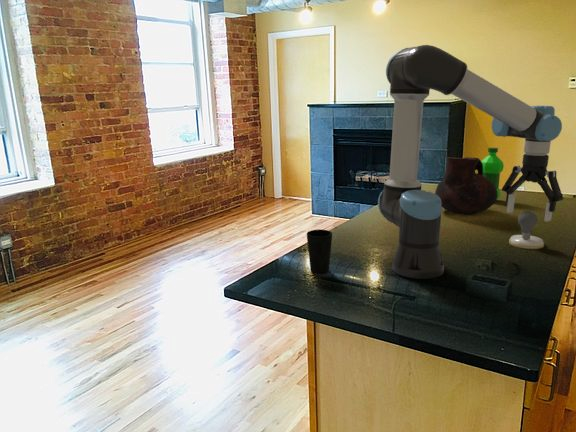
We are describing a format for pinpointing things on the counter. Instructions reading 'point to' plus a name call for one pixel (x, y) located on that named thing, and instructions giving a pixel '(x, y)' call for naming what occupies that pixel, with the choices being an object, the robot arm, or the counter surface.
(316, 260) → the cup
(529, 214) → the light bulb
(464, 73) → the robot arm
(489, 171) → the plastic bottle
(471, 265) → the counter surface
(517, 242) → the white plate
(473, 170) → the jug
